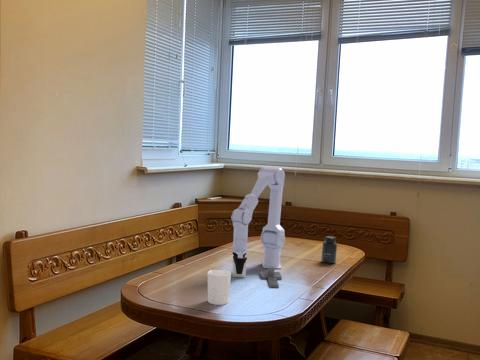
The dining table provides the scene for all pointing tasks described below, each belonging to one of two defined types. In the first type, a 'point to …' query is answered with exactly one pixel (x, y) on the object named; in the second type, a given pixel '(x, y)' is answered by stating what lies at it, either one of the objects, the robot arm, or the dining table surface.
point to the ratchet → (271, 276)
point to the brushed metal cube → (236, 273)
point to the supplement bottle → (329, 250)
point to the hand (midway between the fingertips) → (238, 271)
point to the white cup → (218, 286)
